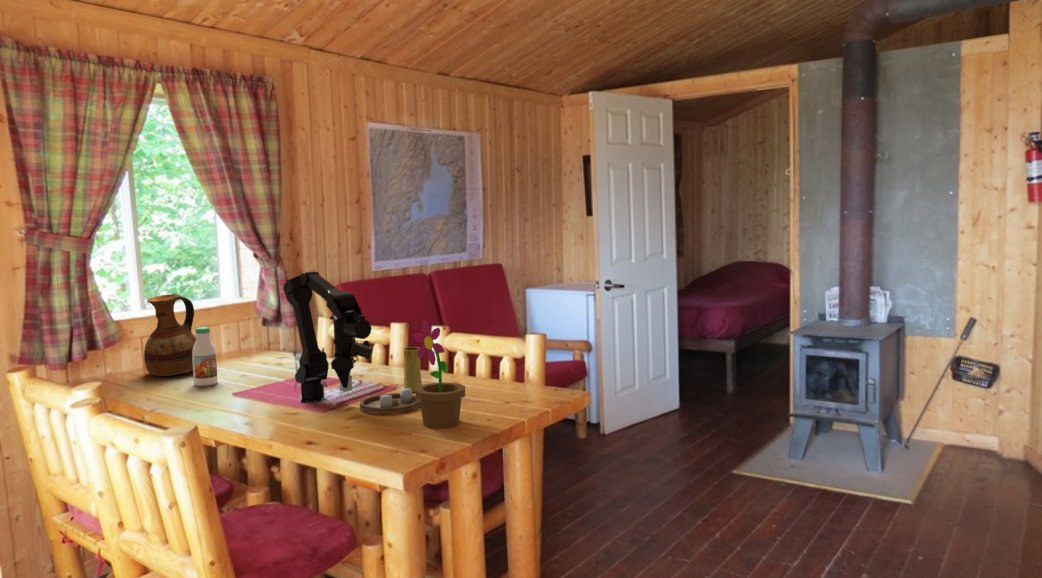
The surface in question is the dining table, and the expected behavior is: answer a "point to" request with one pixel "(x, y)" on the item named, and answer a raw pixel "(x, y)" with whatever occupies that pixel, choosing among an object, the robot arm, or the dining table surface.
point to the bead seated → (406, 395)
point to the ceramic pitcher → (170, 338)
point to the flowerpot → (437, 387)
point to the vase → (412, 368)
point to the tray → (373, 407)
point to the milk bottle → (204, 359)
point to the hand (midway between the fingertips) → (346, 386)
